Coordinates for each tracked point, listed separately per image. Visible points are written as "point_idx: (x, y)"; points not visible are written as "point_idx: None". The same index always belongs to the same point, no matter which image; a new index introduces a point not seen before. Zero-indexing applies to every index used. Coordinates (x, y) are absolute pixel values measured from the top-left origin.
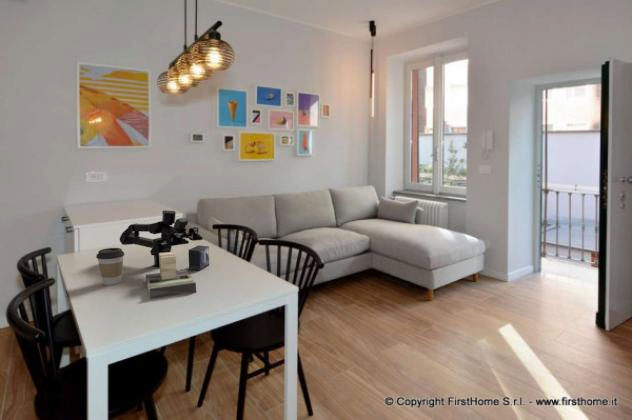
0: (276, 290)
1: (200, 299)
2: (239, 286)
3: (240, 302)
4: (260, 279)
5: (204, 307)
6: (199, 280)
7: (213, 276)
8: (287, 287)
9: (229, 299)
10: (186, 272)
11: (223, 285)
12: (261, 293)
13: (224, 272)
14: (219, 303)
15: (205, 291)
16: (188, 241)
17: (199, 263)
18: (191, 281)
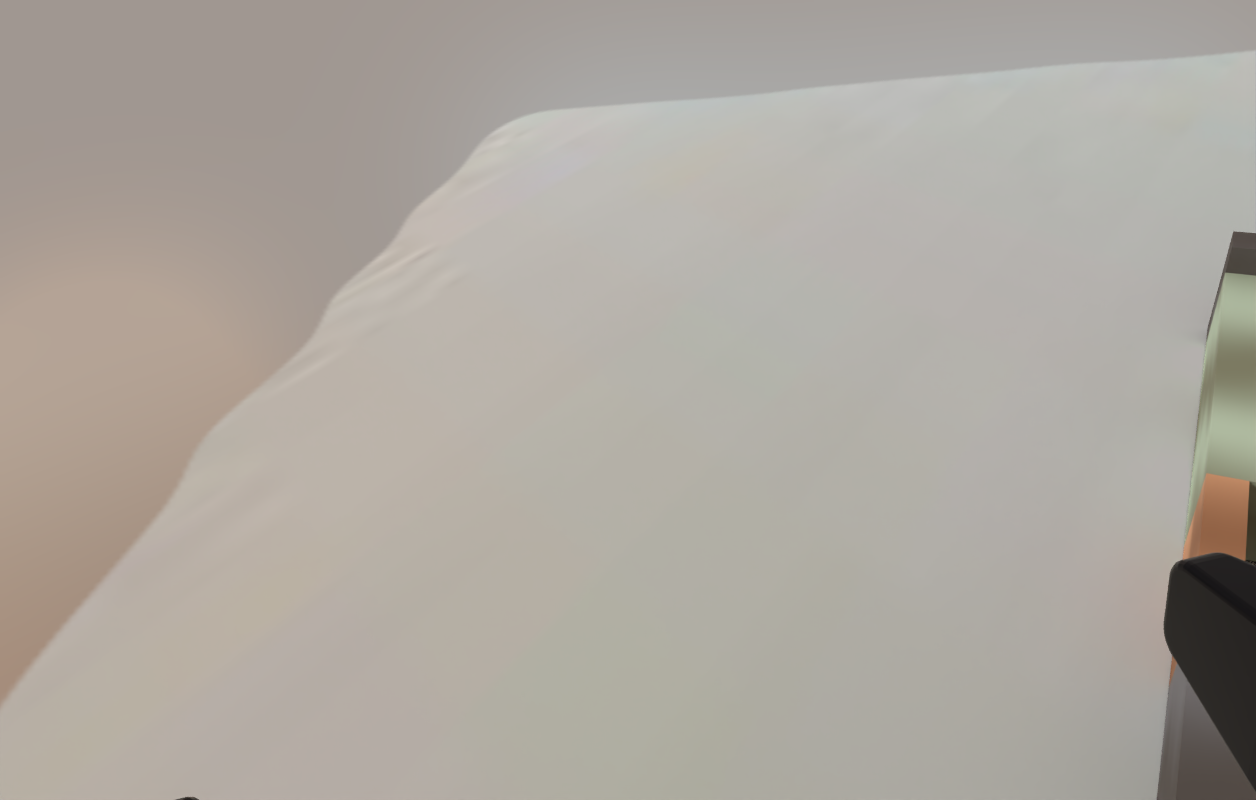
0: (619, 128)
1: (1221, 200)
2: (745, 260)
3: (951, 89)
4: (477, 294)
5: (1236, 107)
6: (1004, 625)
7: (727, 643)
8: (526, 134)
9: (990, 134)
10: (1217, 793)
11: (845, 336)
12: (732, 129)
13: (478, 692)
14: (1095, 116)
15: (1099, 303)
16: (1201, 556)
17: None
18: (1249, 366)
